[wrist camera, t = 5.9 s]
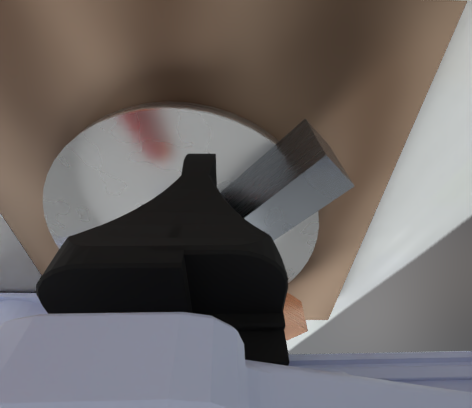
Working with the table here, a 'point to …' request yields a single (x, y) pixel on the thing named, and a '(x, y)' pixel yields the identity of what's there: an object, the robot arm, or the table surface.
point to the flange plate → (170, 169)
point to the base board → (222, 92)
